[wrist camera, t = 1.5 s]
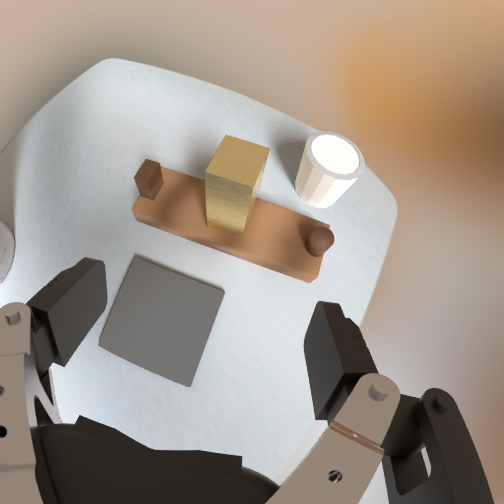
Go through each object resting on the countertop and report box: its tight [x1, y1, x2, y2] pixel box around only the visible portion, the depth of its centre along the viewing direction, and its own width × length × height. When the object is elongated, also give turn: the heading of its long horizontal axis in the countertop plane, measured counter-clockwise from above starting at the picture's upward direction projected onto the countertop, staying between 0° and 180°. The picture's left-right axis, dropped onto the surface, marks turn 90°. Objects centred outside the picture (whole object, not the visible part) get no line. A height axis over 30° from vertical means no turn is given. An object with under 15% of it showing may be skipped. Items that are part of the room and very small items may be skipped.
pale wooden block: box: [205, 135, 270, 239], centre depth 24 cm, size 4×4×9 cm
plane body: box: [132, 159, 334, 283], centre depth 28 cm, size 20×6×6 cm, turn 72°
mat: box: [98, 257, 225, 387], centre depth 26 cm, size 10×10×1 cm
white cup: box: [295, 131, 365, 208], centre depth 31 cm, size 7×7×7 cm
